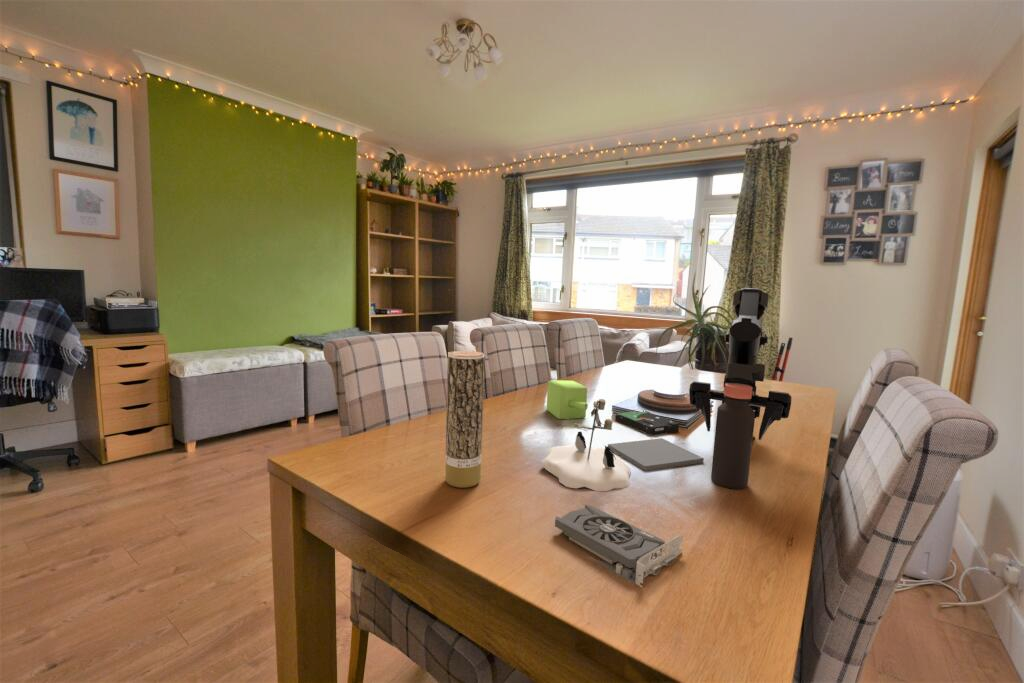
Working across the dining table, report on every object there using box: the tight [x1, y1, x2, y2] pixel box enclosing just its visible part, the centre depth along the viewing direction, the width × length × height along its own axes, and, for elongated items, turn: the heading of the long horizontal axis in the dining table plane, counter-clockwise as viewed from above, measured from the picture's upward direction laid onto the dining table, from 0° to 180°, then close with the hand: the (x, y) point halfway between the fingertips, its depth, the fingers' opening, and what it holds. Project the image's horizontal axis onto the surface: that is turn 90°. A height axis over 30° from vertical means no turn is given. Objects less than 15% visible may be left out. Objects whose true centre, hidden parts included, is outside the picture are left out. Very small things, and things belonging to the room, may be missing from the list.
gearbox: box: [546, 379, 589, 420], centre depth 138 cm, size 18×10×10 cm, turn 16°
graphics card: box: [554, 504, 684, 588], centre depth 70 cm, size 17×4×12 cm
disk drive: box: [614, 409, 680, 436], centre depth 131 cm, size 10×3×15 cm
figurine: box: [541, 398, 632, 492], centre depth 96 cm, size 20×18×16 cm
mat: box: [607, 437, 704, 472], centre depth 108 cm, size 16×14×1 cm
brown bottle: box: [710, 383, 756, 490], centre depth 93 cm, size 7×7×20 cm
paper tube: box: [444, 350, 485, 489], centre depth 88 cm, size 7×7×25 cm
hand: (733, 434), depth 92 cm, fingers open, 9 cm apart
